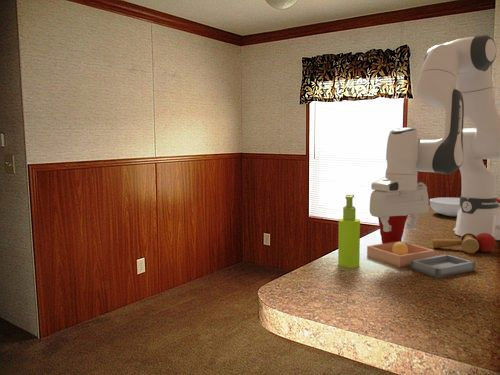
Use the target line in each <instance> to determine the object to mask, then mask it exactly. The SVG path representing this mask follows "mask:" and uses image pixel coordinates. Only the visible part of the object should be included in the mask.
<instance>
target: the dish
mask: <svg viewBox="0 0 500 375" xmlns="http://www.w3.org/2000/svg"><path fill="white" fill-rule="evenodd" d="M397 242H402V243H404V244H406V245H407V247H408V252H407V254H406V255H397V254H394V253H393V251H392V248H393V245H394V244H395V243H397ZM397 242H390V243H384V244H382V243H379V244H372V245H367V247H366V256H367V258H371V259H375V260H377V261H378V262H383V263H386V264H388V265H391V266H394V267H397V268H406V267H411V261H413V260H418V259H424V258H429V257H434V256H435V253H436V252H435V250H434V249H431V248H427V247H423V246H421V245H420V246H419V245H418V244H417V245H416V244H412V243H408V242H406V241H405V242H404V241H402V240H401V241H397Z"/></svg>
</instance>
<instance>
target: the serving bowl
mask: <svg viewBox="0 0 500 375" xmlns="http://www.w3.org/2000/svg"><path fill="white" fill-rule="evenodd" d="M459 200H460V197H434V198H430V199H429V206H430V207H431V209H432V210H433V211H434V212H436V213H438V214H440V215H443V216H446V217H455V218H457V214H458V210H459V209H460V207H461V206H460V202H459Z"/></svg>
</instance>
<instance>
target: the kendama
mask: <svg viewBox="0 0 500 375" xmlns="http://www.w3.org/2000/svg"><path fill="white" fill-rule="evenodd" d="M431 241H432V248H433V249H440V248H449V247H459V246H461V248H462V250H463V251H464V252H465V253H470V254H474V253H476V252H478V251H480V252H482V253H489V252H491V251H493V250H494V249H495V247H496V244H497V243H496V240H495V239H494V237H493V236H492V235H490V234H488V233H481V234H478V235H477V236H475V235H474V234H472V233H465V234H463V235H462V236H461V238H460V239H451V238H450V239H449V238H447V239H438V238H433V239H432V240H431Z"/></svg>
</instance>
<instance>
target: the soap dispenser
mask: <svg viewBox="0 0 500 375" xmlns="http://www.w3.org/2000/svg"><path fill="white" fill-rule="evenodd" d="M354 198H355V195H354V194H346V195H345V200H346V201H345V202H346V203H345V204H346V205H345V206H343V207H342V208H343V209H342V210H343V211H342V218H339V219H338V239H337V240H338V243H337V244H338V249H337V250H338V253H337V254H338V256H337V258H338V262H337V263H338V266H339V267H342V268H345V269H346V268H348V269H353V268H354V269H355V268H358V267H360V252H361V250H360V248H361V247H360V245H361V244H360V241H361V240H360V239H361V238H360V237H361V234H360V233H361V220H360V219H358V218H356V207H355V206H354V205H353V199H354Z"/></svg>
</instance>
